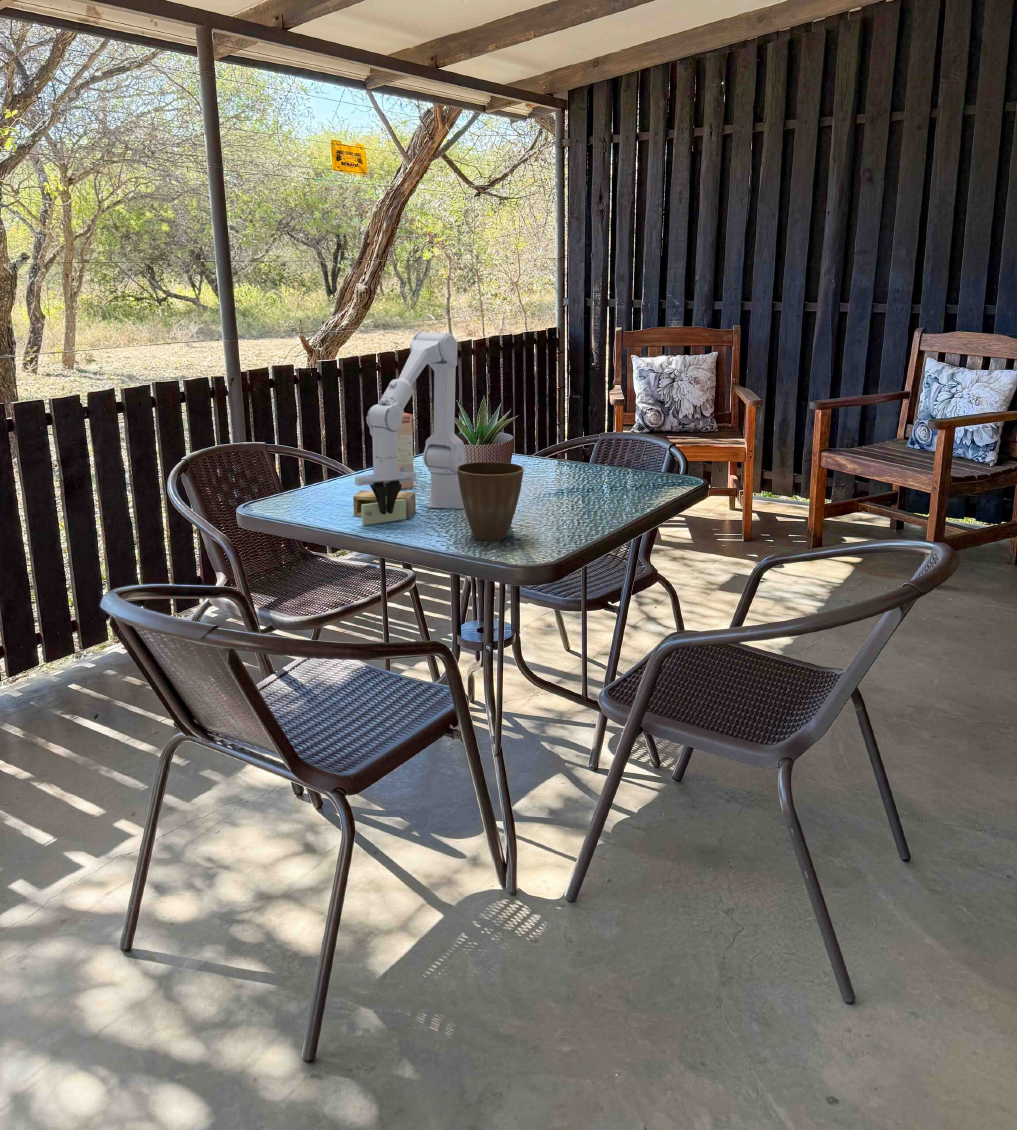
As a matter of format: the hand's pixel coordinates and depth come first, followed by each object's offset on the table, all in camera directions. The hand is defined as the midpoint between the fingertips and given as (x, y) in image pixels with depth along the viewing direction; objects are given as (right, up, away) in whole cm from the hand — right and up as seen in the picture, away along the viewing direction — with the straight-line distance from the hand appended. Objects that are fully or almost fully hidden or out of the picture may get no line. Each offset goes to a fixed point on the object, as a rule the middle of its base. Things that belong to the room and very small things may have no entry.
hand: (386, 513), depth 227 cm
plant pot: (+25, -6, -10) cm, 27 cm away
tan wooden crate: (-2, 0, +11) cm, 11 cm away
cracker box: (-4, +10, +45) cm, 46 cm away
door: (0, -2, +3) cm, 3 cm away
